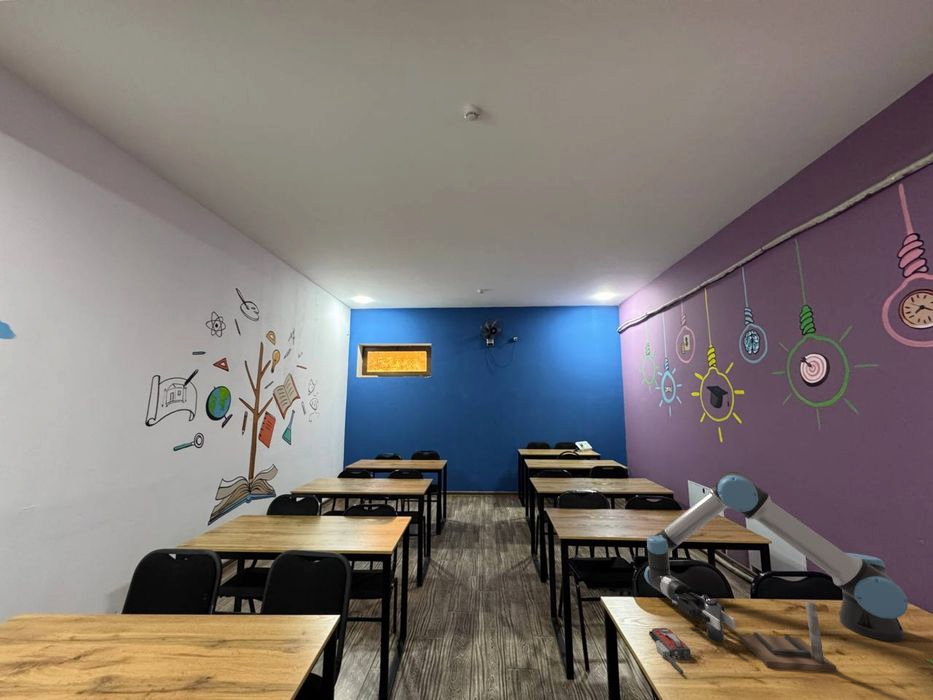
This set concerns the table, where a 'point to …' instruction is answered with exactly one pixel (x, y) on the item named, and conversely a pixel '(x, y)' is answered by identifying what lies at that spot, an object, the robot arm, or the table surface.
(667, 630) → the walkie-talkie
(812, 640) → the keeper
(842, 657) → the table surface
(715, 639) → the grey metal canister
